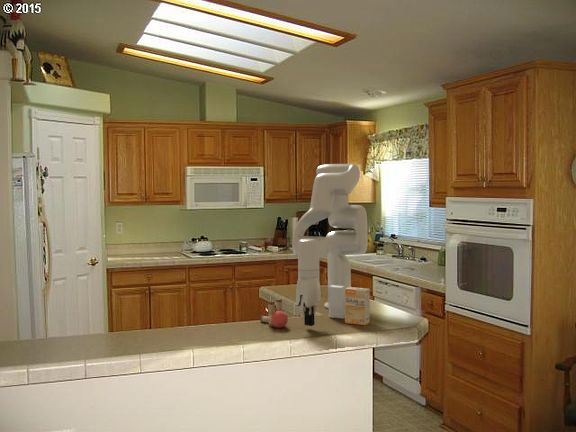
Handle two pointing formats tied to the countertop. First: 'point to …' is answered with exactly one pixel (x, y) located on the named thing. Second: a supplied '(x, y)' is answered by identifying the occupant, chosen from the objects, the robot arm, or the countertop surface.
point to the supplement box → (357, 306)
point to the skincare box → (336, 301)
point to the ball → (279, 319)
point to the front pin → (264, 319)
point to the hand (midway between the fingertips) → (309, 325)
